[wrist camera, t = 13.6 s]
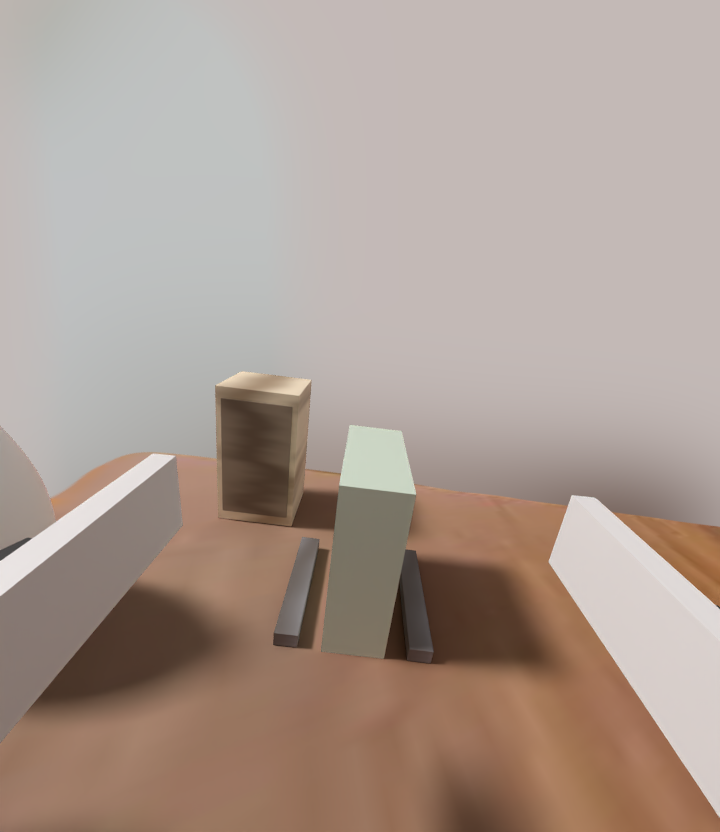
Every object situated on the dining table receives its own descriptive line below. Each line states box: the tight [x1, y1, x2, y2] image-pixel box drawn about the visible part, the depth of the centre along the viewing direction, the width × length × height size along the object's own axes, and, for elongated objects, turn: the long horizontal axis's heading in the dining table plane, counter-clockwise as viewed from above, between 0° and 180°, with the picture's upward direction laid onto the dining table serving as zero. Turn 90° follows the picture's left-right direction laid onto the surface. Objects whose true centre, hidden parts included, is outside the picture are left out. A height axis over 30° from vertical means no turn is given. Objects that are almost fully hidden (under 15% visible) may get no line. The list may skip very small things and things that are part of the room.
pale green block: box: [321, 425, 416, 659], centre depth 24 cm, size 4×9×12 cm, turn 178°
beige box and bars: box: [215, 371, 433, 663], centre depth 27 cm, size 18×18×13 cm
